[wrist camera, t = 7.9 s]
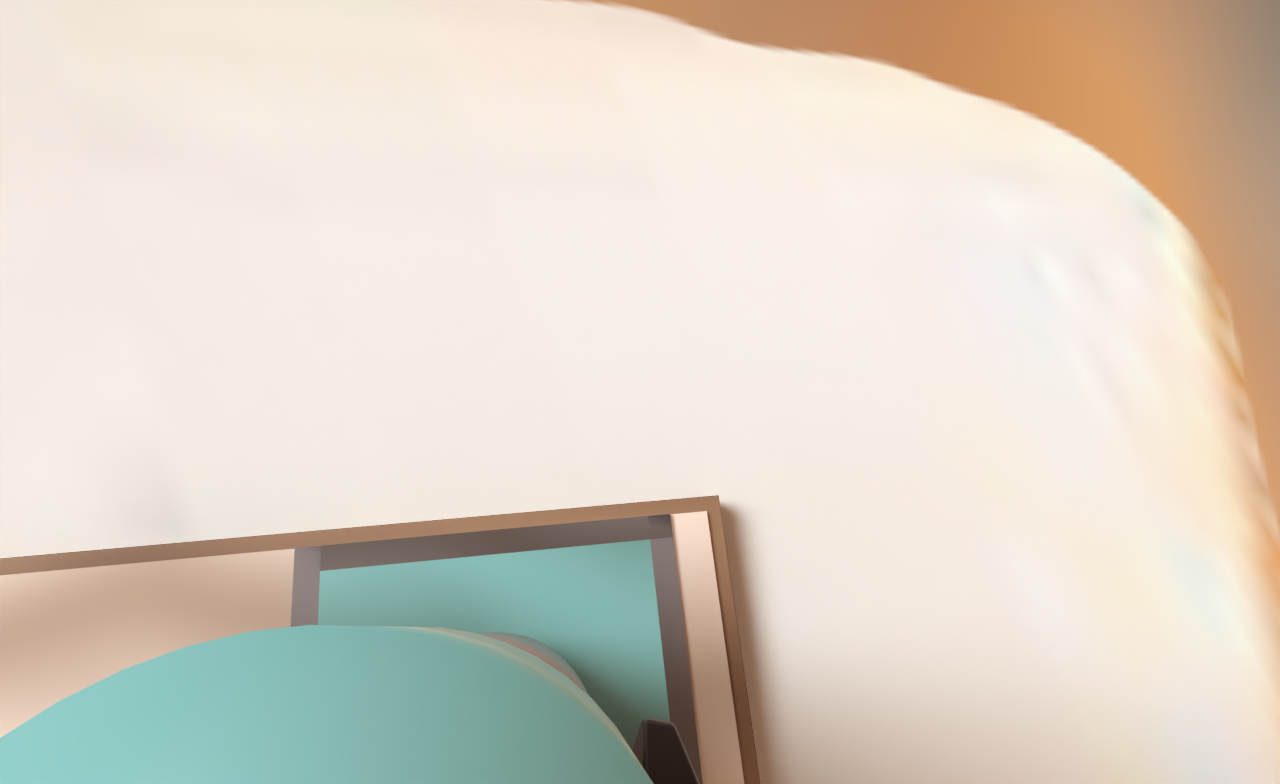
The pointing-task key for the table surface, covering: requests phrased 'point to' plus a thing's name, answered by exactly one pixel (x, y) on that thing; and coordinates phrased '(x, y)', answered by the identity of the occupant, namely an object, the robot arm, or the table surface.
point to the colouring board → (419, 607)
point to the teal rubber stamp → (330, 715)
